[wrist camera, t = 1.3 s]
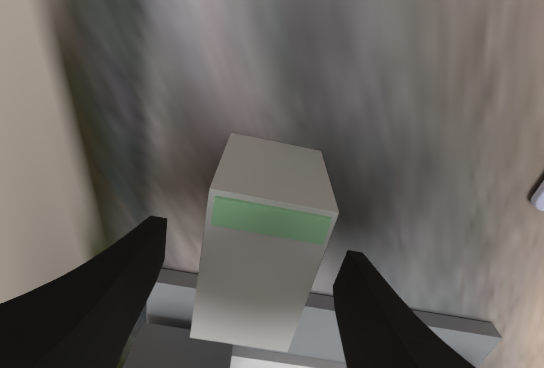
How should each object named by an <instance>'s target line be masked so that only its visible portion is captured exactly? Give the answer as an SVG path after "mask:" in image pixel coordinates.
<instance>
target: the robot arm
mask: <svg viewBox="0 0 544 368" xmlns="http://www.w3.org/2000/svg"><path fill="white" fill-rule="evenodd" d="M531 204H532V205H533V206H534V207H535V208H536V209H538V210H540V211H544V181H543V182H542V183H541V185H540V186H539V188H538V189H537V191H536V192H535V193H534V195H533V196H532V199H531ZM166 229H167V218H161V217H156V216H150V217H148V218H147V219H146V220H144V221H143V222H142V223H141V224H139V225H138V226H137V227H136V228H134V229H133V230H132V231H130V232H129V233H128V234H126V235H125V236H124V237H122V238H121V239H120V240H118V241H117V242H116V243H114V244H113V245H111V246H110V247H109V248H107V249H106V250H104V251H103V252H101V253H100V254H98V255H96V256H95V257H93V258H92V259H90V260H89V261H87V262H86V263H84V264H82V265H81V266H79V267H77V268H76V269H74V270H72V271H70V272H68V273H67V274H65V275H63V276H61V277H59V278H57V279H55V280H53V281H51V282H49V283H47V284H45V285H42V286H40V287H38V288H36V289H34V290H32V291H30V292H28V293H25V294H23V295H21V296H18V297H16V298H13V299H11V300H9V301H6V302H4V303H1V304H0V368H116V366H117V364H118V361H119V359H120V356H121V354H122V351H123V349H124V346H125V344H126V342H127V340H128V338H129V335H130V333H131V331H132V329H133V327H134V325H135V323H136V321H137V320H138V318H139V316H140V314H141V312H142V310H143V308H144V306H145V304H146V302H147V300H148V298H149V296H150V294H151V292H152V290H153V288H154V286H155V284H156V281H157V279H158V276H159V273H160V271H161V268H162V265H163V262H164V259H165V244H166ZM333 296H334V308H335V314H336V319H337V324H338V329H339V334H340V338H341V343H342V347H343V352H344V357H345V361H346V366H347V368H476V367H475V366H473V365H472V364H471V363H469V362H468V361H467V360H466V359H464V358H463V357H462V356H461V355H460V354H458V353H457V352H456V351H455V350H454V349H452V348H451V347H450V346H449V345H448V344H446V343H445V342H444V341H443V340H442V339H441V338H440V337H438V336H437V335H436V334H435V333H434V332H433V331H432V330H431V329H430V328H429V327H428V326H427V325H426V324H425V323H424V322H423V321H422V320H421V319H420V318H419V317H418V316H417V315H416V314H415V313H414V312H413V311H412V310H411V309H410V308H409V307H408V306H407V305H406V304H405V303H404V301H403V300H402V299H401V298H400V297H399V296H398V295H397V294H396V292H395V291H394V290H393V289H392V288H391V286H390V285H389V284H388V283H387V282H386V280H385V279H384V278H383V277H382V276H381V274H380V273H379V272H378V271H377V269H376V268H375V267H374V266H373V265H372V263H371V262H370V261H369V260H368V258H367V257H366V256H365V255H364V254H363V253H362V252H356V251H350V250H348V251H347V253H346V256H345V258H344V261H343V263H342V266H341V268H340V270H339V273H338V275H337V278H336V280H335V283H334V285H333Z"/></svg>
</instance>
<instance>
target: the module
mask: <svg viewBox="0 0 544 368" xmlns="http://www.w3.org/2000/svg"><path fill="white" fill-rule="evenodd" d="M338 215H339V210H338V207H337V204H336V200H335V197H334V194H333V190H332V187H331V183H330V180H329V177H328V173H327V170H326V167H325V163H324V160H323V156H322V153H321V151H319V150H314V149H309V148H304V147H300V146H295V145H290V144H285V143H280V142H275V141H270V140H265V139H260V138H255V137H250V136H245V135H241V134H236V133H231V134H230V137H229V139H228V142H227V144H226V147H225V150H224V152H223V155H222V157H221V160H220V163H219V165H218V168H217V170H216V173H215V176H214V178H213V181H212V183H211V186H210V189H209V196H208V204H207V211H206V219H205V227H204V234H203V242H202V249H201V257H200V264H199V272H198V279H197V287H196V294H195V302H194V309H193V317H192V324H191V332H190V338H195V339H202V340H209V341H216V342H222V343H229V344H236V345H242V346H249V347H256V348H262V349H269V350H276V351H283V352H288V349H289V347H290V344H291V341H292V338H293V336H294V333H295V330H296V328H297V325H298V322H299V320H300V317H301V314H302V312H303V309H304V306H305V303H306V301H307V298H308V295H309V293H310V290H311V287H312V285H313V282H314V279H315V277H316V274H317V271H318V268H319V266H320V263H321V260H322V258H323V255H324V252H325V250H326V247H327V244H328V241H329V239H330V236H331V233H332V231H333V228H334V225H335V223H336V220H337V217H338Z"/></svg>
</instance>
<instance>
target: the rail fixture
mask: <svg viewBox="0 0 544 368" xmlns="http://www.w3.org/2000/svg"><path fill="white" fill-rule="evenodd" d="M197 279H198V274H192V273H186V272H180V271H174V270H168V269H162V268H161V271H160V273H159V276H158V279H157V281H156V284H155V286H154V288H153V290H152V292H151V294H150V296H149V298H148V300H147V313H146V323H144V322H142V325H141V327H140V329H139V331H138V334H137V336H136V338H135V341H134V343H133V345H132V348H131V350H130V352H129V355H128V357H127V359H126V361H125V364H124V366H123V368H347V366H346V361H345V357H344V352H343V347H342V343H341V338H340V334H339V329H338V324H337V319H336V314H335V308H334V297H331V296H325V295H319V294H313V293H309V295H308V298H307V301H306V303H305V306H304V309H303V312H302V314H301V317H300V320H299V322H298V325H297V328H296V330H295V333H294V336H293V338H292V341H291V344H290V347H289V349H288V352H283V351H276V350H269V349H262V348H256V347H249V346H242V345H236V344H229V343H222V342H216V341H209V340H202V339H195V338H190V332H191V324H192V317H193V309H194V302H195V294H196V287H197ZM412 311H413V312H414V313H415V314H416V315H417V316H418V317H419V318H420V319H421V320H422V321H423V322H424V323H425V324H426V325H427V326H428V327H429V328H430V329H431V330H432V331H433V332H434V333H435V334H436V335H437V336H438V337H440V338H441V339H442V340H443V341H444V342H445V343H446V344H448V345H449V346H450V347H451V348H452V349H454V350H455V351H456V352H457V353H458V354H460V355H461V356H462V357H463V358H464V359H466V360H467V361H468V362H469V363H471V364H472V365H473V366H475V367H476V368H477V367H478V366H479V365H480V364H481V363H482V361H483V360H484V359H485V358H486V357H487V356H488V354H489V353H490V352H491V351H492V350H493V349H494V347H495V346H496V345H497V344H498V343H499V341H500V340H501V339H502V337H501V335H500V334H499V332H498V331H497V329H496V328H495V327H494V325H493V324H492V323H489V322H483V321H477V320H470V319H464V318H458V317H452V316H446V315H440V314H434V313H428V312H422V311H416V310H412Z"/></svg>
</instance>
